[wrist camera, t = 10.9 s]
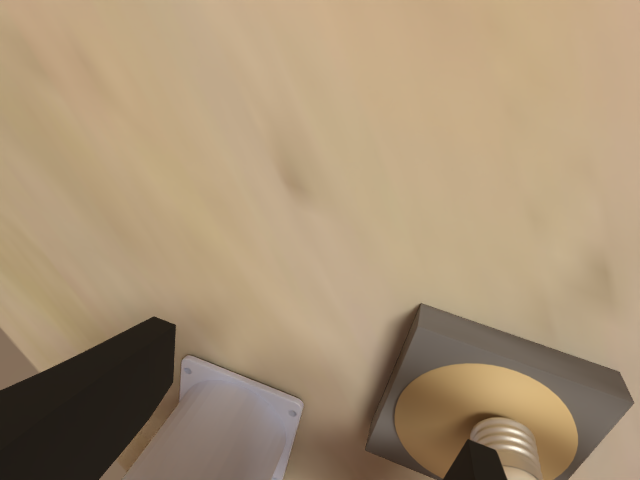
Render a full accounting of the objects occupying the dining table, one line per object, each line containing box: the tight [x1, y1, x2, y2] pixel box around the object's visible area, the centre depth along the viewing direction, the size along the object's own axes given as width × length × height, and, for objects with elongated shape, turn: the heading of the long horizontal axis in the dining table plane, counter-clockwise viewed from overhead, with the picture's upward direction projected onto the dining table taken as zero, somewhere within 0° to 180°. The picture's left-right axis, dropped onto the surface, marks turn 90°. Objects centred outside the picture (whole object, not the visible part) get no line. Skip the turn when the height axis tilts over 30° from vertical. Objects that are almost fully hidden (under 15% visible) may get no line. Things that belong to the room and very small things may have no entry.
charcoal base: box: [365, 303, 634, 480], centre depth 21 cm, size 9×9×2 cm
